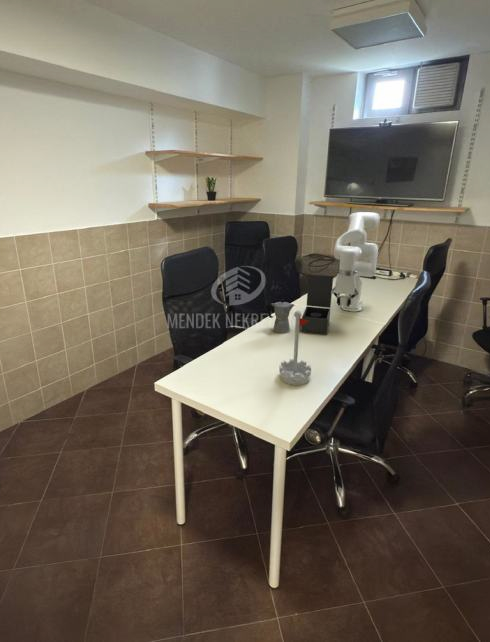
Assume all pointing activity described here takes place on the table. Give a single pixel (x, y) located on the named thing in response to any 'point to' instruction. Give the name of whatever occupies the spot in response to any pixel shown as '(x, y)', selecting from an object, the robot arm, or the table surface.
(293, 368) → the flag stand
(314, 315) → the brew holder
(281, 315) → the coffeepot
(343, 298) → the cylinder
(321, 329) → the coffee maker
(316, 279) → the lid
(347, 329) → the table surface
